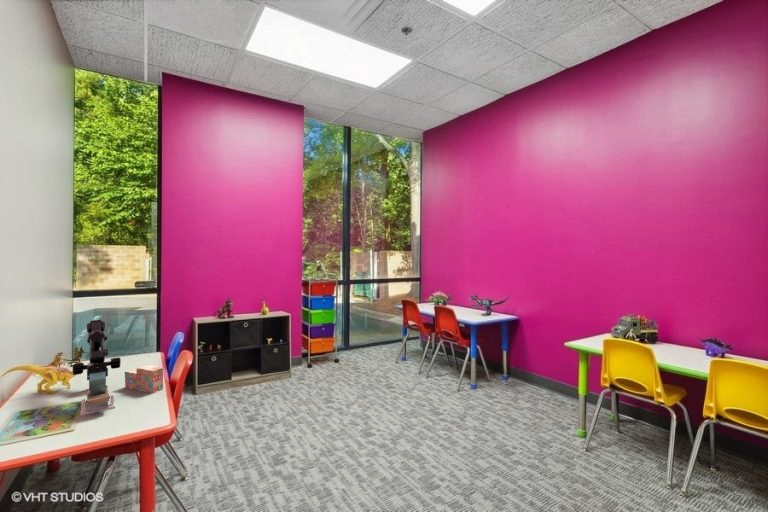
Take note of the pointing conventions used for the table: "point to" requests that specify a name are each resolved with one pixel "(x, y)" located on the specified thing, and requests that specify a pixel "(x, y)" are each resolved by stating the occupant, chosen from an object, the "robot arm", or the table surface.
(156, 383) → the stack of blocks
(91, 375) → the grey rectangular block
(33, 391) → the table surface
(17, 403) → the table surface
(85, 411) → the pivot stand
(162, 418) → the table surface
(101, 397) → the beam
